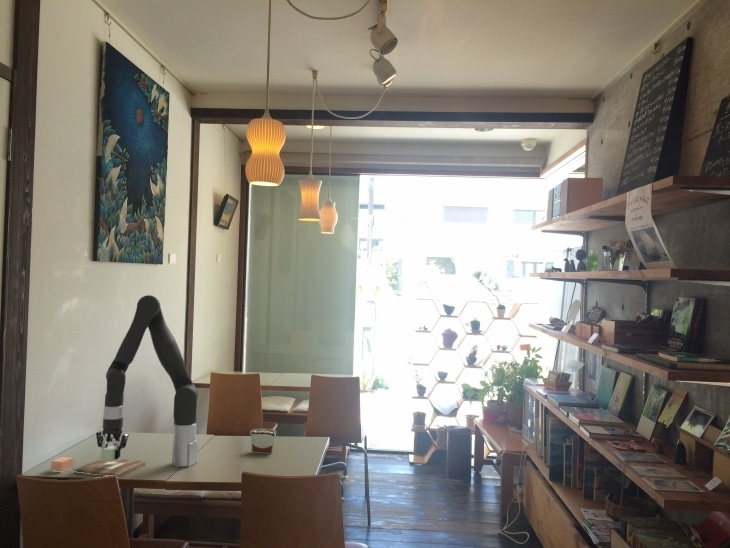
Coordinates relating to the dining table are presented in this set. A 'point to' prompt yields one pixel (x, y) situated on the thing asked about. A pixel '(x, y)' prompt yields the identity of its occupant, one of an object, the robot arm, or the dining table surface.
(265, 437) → the food container
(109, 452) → the sage green brick
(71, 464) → the terracotta brick
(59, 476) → the dining table surface
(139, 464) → the base board
